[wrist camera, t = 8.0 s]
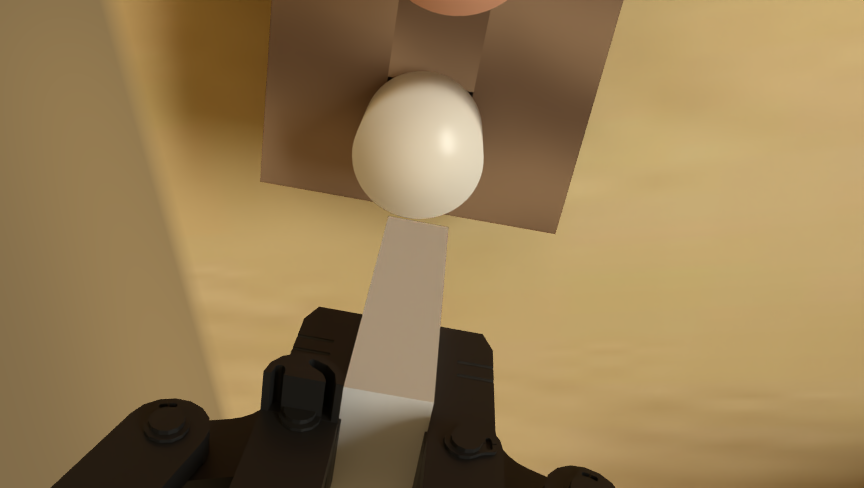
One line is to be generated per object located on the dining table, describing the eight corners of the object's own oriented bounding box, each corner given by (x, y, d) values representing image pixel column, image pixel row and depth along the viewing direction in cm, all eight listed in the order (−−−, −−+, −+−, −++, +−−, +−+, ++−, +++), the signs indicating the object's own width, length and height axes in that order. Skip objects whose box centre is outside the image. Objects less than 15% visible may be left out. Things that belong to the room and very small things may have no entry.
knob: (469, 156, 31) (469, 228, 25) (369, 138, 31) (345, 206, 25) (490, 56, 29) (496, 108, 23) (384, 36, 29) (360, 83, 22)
